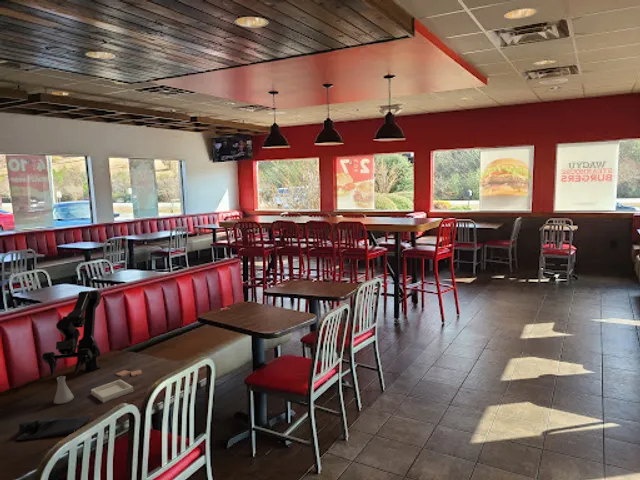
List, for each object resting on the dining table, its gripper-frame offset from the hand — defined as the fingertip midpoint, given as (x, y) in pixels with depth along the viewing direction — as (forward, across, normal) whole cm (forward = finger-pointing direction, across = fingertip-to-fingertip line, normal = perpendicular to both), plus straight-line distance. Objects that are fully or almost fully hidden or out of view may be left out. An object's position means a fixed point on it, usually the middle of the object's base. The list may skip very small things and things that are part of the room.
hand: (63, 374), depth 198 cm
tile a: (-7, +18, +21) cm, 28 cm away
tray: (+8, +19, +6) cm, 21 cm away
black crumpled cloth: (+27, +6, -12) cm, 30 cm away
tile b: (-6, +24, +20) cm, 32 cm away
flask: (+9, 0, +5) cm, 11 cm away
